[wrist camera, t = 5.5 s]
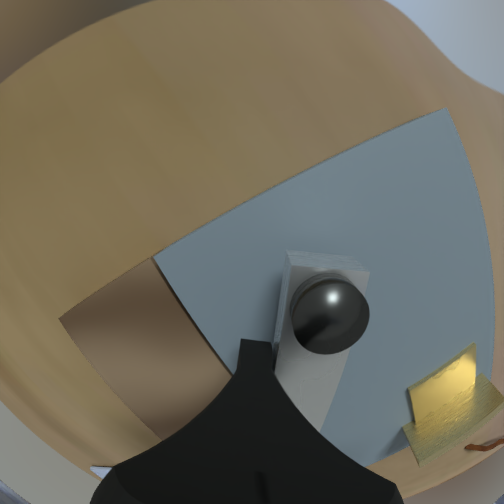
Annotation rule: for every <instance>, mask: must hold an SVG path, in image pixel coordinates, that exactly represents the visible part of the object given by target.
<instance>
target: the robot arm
mask: <svg viewBox="0 0 504 504" xmlns="http://www.w3.org/2000/svg"><path fill="white" fill-rule="evenodd" d="M272 361H273V350H272V345H271V342H266V341H258V340H250V339H242V338H241V340H240V347H239V354H238V362H237V369H236V371H235V373H234V375H233V376H232V377H231V379H230V380H229V381H228V383H227V384H226V385H225V387H224V388H223V389H222V390H221V392H220V393H219V394H218V395H217V396H216V397H215V398H214V399H213V401H212V402H211V403H210V404H209V405H208V406H207V407H206V408H205V409H204V410H203V411H201V412H200V413H199V414H198V415H197V416H196V417H195V418H193V419H192V420H191V421H190V422H189V423H188V424H186V425H185V426H184V427H182V428H181V429H180V430H178V431H177V432H175V433H174V434H173V435H171V436H170V437H168V438H166V439H165V440H163V441H162V442H160V443H159V444H157V445H156V446H154V447H152V448H150V449H149V450H147V451H145V452H143V453H141V454H139V455H137V456H134V457H132V458H130V459H128V460H126V461H124V462H122V463H119V464H117V465H115V466H113V467H112V468H111V467H96V466H91V468H90V469H91V470H92V471H93V472H94V473H95V474H97V475H98V476H99V477H101V478H102V479H103V480H102V481H101V483H100V484H99V486H98V487H97V489H96V490H95V492H94V494H93V497H92V499H91V501H90V504H404V503H403V500H402V497H401V495H400V493H399V491H398V488H397V486H396V484H395V483H393V482H391V481H389V480H387V479H385V478H383V477H381V476H379V475H378V474H376V473H374V472H372V471H370V470H368V469H367V468H365V467H363V466H362V465H360V464H358V463H357V462H355V461H354V460H353V459H351V458H350V457H348V456H347V455H345V454H344V453H343V452H341V451H340V450H339V449H338V448H337V447H335V446H334V445H333V444H332V443H331V442H330V441H328V440H327V439H326V438H325V437H324V436H323V435H322V434H320V433H319V432H318V431H317V430H316V429H315V428H314V426H313V425H312V424H311V423H310V422H309V421H308V420H307V419H306V418H305V417H304V416H303V414H302V413H301V412H300V411H299V410H298V408H297V407H296V406H295V404H294V403H293V402H292V400H291V399H290V397H289V396H288V395H287V393H286V392H285V390H284V389H283V387H282V385H281V384H280V382H279V380H278V379H277V377H276V375H275V373H274V372H273V370H272ZM0 504H30V503H29V502H27V501H26V500H25V499H23V498H22V497H20V496H19V495H18V494H17V493H15V492H14V491H13V490H12V489H10V488H9V487H8V486H7V485H6V484H4V483H3V482H2V481H1V480H0ZM493 504H504V494H503V495H502V496H501V497H500V498H499V499H498V500H497V501H496V502H495V503H493Z"/></svg>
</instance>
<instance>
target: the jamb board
mask: <svg viewBox="0 0 504 504" xmlns="http://www.w3.org/2000/svg"><path fill="white" fill-rule="evenodd" d="M162 250H164V249H162ZM162 250H161V251H162ZM161 251H159V252H161ZM159 252H158V253H159ZM158 253H156V254H158ZM156 254H154V255H153V256H151V257H149V258H148V259H146V260H145V261H143V262H141V263H140V264H138V265H137V266H135V267H133V268H132V269H130V270H129V271H127V272H126V273H124V274H122V275H121V276H119V277H118V278H116V279H115V280H113V281H112V282H110V283H109V284H107V285H106V286H104V287H103V288H101V289H100V290H98V291H97V292H95V293H94V294H92V295H91V296H89V297H88V298H86V299H85V300H83V301H82V302H80V303H79V304H77V305H76V306H74V307H73V308H72V309H70V310H69V311H68V312H66V313H65V314H64V315H62V316H61V317H60V318H58V319H59V320H60V322H61V323H62V325H63V326H64V328H65V329H66V331H67V332H68V334H69V335H70V337H71V338H72V340H73V341H74V343H75V344H76V345H77V347H78V348H79V350H80V351H81V352H82V354H83V355H84V356H85V358H86V359H87V360H88V362H89V363H90V364H91V365H92V367H93V368H94V369H95V370H96V372H97V373H98V374H99V375H100V377H101V378H102V379H103V380H104V381H105V382H106V384H107V385H108V386H109V387H110V388H111V389H112V391H113V392H114V393H115V394H116V395H117V396H118V397H119V398H120V399H121V400H122V402H123V403H124V404H125V405H126V406H127V407H128V408H129V409H130V410H131V411H132V412H133V413H134V414H135V415H136V416H137V417H138V418H139V419H140V420H141V421H142V422H143V423H144V424H145V425H146V426H147V427H148V428H150V429H151V430H152V431H153V432H154V433H155V434H156V435H157V436H158V437H159V438H161V439H162V440H165V439H166V438H168V437H170V436H171V435H173V434H174V433H175V432H177V431H178V430H180V429H181V428H182V427H184V426H185V425H186V424H188V423H189V422H190V421H191V420H192V419H193V418H195V417H196V416H197V415H198V414H199V413H200V412H201V411H203V410H204V409H205V408H206V407H207V406H208V405H209V404H210V403H211V402H212V401H213V399H214V398H215V397H216V396H217V395H218V394H219V393H220V392H221V390H222V389H223V388H224V387H225V385H226V384H227V383H228V381H229V380H230V379H231V377H232V376H233V374H232V372H231V371H230V370H229V368H228V367H227V366H226V364H225V363H224V362H223V360H222V359H221V358H220V356H219V355H218V354H217V352H216V351H215V350H214V348H213V347H212V346H211V344H210V343H209V341H208V340H207V339H206V337H205V336H204V334H203V333H202V332H201V330H200V329H199V327H198V326H197V324H196V323H195V321H194V320H193V319H192V317H191V316H190V314H189V313H188V311H187V310H186V308H185V307H184V305H183V304H182V302H181V301H180V299H179V298H178V296H177V294H176V293H175V291H174V290H173V288H172V287H171V285H170V283H169V282H168V280H167V279H166V277H165V275H164V274H163V272H162V271H161V269H160V267H159V266H158V264H157V262H156V261H155V259H154V256H155V255H156Z"/></svg>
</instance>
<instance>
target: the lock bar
mask: <svg viewBox="0 0 504 504" xmlns="http://www.w3.org/2000/svg"><path fill="white" fill-rule="evenodd" d="M369 274H370V272H369V271H368V270H367V269H366V268H365V267H364V266H362V265H361V264H360V263H359V262H358V261H357V260H355V259H354V258H353V257H352V256H343V255H333V254H323V253H313V252H303V251H293V250H286V254H285V262H284V270H283V277H282V285H281V292H280V299H279V307H278V314H277V320H276V327H275V334H274V340H273V347H272V350H273V361H272V370H273V372H274V373H275V375H276V377H277V379H278V380H279V382H280V384H281V385H282V387H283V389H284V390H285V392H286V393H287V395H288V396H289V397H290V399H291V400H292V402H293V403H294V404H295V406H296V407H297V408H298V410H299V411H300V412H301V413H302V414H303V416H304V417H305V418H306V419H307V420H308V421H309V422H310V423H311V424H312V425H313V426H314V428H315V429H316V430H317V431H318V432H320V430H321V427H322V425H323V423H324V420H325V418H326V415H327V413H328V410H329V408H330V405H331V403H332V400H333V398H334V395H335V392H336V390H337V387H338V384H339V381H340V378H341V376H342V373H343V370H344V367H345V364H346V361H347V357H348V354H349V351H350V348H351V346H352V345H354V344H355V343H356V342H357V341H358V340H359V339H360V338H361V337H362V335H363V334H364V332H365V330H366V328H367V326H368V323H369V317H370V310H369V305H368V303H367V300H366V299H365V297H364V296H365V292H366V288H367V283H368V279H369Z"/></svg>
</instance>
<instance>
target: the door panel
mask: <svg viewBox="0 0 504 504" xmlns="http://www.w3.org/2000/svg"><path fill="white" fill-rule="evenodd" d="M286 250H293V251H303V252H313V253H323V254H333V255H343V256H352V257H353V258H354V259H355V260H357V261H358V262H359V263H360V264H361V265H362V266H364V267H365V268H366V269H367V270H368V271H369V272H370V274H369V279H368V283H367V288H366V292H365V296H364V297H365V299H366V300H367V303H368V305H369V310H370V317H369V323H368V326H367V328H366V330H365V332H364V334H363V335H362V337H361V338H360V339H359V340H358V341H357V342H356V343H355V344H354V345H352V346H351V348H350V351H349V354H348V357H347V361H346V364H345V367H344V370H343V373H342V376H341V378H340V381H339V384H338V387H337V390H336V392H335V395H334V398H333V400H332V403H331V405H330V408H329V410H328V413H327V415H326V418H325V420H324V423H323V425H322V427H321V430H320V432H319V433H320V434H322V435H323V436H324V437H325V438H326V439H327V440H328V441H330V442H331V443H332V444H333V445H334V446H335V447H337V448H338V449H339V450H340V451H341V452H343V453H344V454H345V455H347V456H348V457H350V458H351V459H353V460H354V461H355V462H357V463H358V464H360V465H362V466H363V467H366V466H368V465H370V464H373V463H375V462H377V461H380V460H382V459H384V458H386V457H388V456H390V455H392V454H394V453H396V452H398V451H400V450H402V449H404V448H406V447H408V446H410V445H409V443H408V441H407V439H406V437H405V435H404V432H403V428H402V426H404V425H406V424H407V423H409V422H411V421H413V420H414V417H413V412H412V407H411V402H410V397H409V393H408V387H409V386H411V385H413V384H414V383H416V382H417V381H419V380H421V379H422V378H424V377H425V376H427V375H428V374H430V373H432V372H433V371H435V370H436V369H437V368H439V367H440V366H442V365H443V364H445V363H446V362H447V361H449V360H450V359H452V358H453V357H454V356H456V355H457V354H458V353H460V352H461V351H462V350H464V349H465V348H466V347H467V346H469V345H470V344H471V343H472V342H474V343H475V344H476V373H475V378H476V377H477V376H478V375H479V374H480V373H483V374H484V375H485V376H486V378H487V379H488V380H489V381H490V379H491V372H492V363H493V351H494V333H495V302H494V283H493V271H492V262H491V254H490V247H489V241H488V235H487V229H486V224H485V219H484V215H483V210H482V206H481V202H480V198H479V194H478V190H477V187H476V183H475V180H474V177H473V173H472V170H471V167H470V164H469V161H468V158H467V155H466V153H465V150H464V147H463V145H462V142H461V140H460V137H459V135H458V132H457V130H456V127H455V125H454V123H453V121H452V118H451V116H450V114H449V112H448V110H447V108H443V109H440V110H438V111H435V112H432V113H429V114H426V115H423V116H421V117H419V118H416V119H414V120H411V121H409V122H407V123H404V124H402V125H400V126H397V127H395V128H393V129H391V130H388V131H386V132H384V133H382V134H379V135H377V136H375V137H373V138H371V139H368V140H366V141H364V142H362V143H360V144H358V145H356V146H353V147H351V148H349V149H347V150H345V151H343V152H341V153H339V154H337V155H335V156H333V157H331V158H328V159H326V160H324V161H322V162H320V163H318V164H316V165H314V166H312V167H310V168H308V169H306V170H304V171H302V172H300V173H298V174H297V175H295V176H293V177H291V178H289V179H287V180H285V181H283V182H281V183H279V184H277V185H275V186H273V187H272V188H270V189H268V190H266V191H264V192H262V193H260V194H258V195H257V196H255V197H253V198H251V199H249V200H247V201H246V202H244V203H242V204H240V205H238V206H237V207H235V208H233V209H231V210H229V211H228V212H226V213H224V214H222V215H220V216H219V217H217V218H215V219H213V220H212V221H210V222H208V223H206V224H205V225H203V226H201V227H199V228H198V229H196V230H194V231H193V232H191V233H189V234H188V235H186V236H184V237H182V238H181V239H179V240H177V241H176V242H174V243H172V244H171V245H169V246H168V247H166V248H165V249H164V250H162V251H161V252H159V253H158V254H156V255H155V256H154V259H155V261H156V262H157V264H158V266H159V267H160V269H161V271H162V272H163V274H164V275H165V277H166V279H167V280H168V282H169V283H170V285H171V287H172V288H173V290H174V291H175V293H176V294H177V296H178V298H179V299H180V301H181V302H182V304H183V305H184V307H185V308H186V310H187V311H188V313H189V314H190V316H191V317H192V319H193V320H194V321H195V323H196V324H197V326H198V327H199V329H200V330H201V332H202V333H203V334H204V336H205V337H206V339H207V340H208V341H209V343H210V344H211V346H212V347H213V348H214V350H215V351H216V352H217V354H218V355H219V356H220V358H221V359H222V360H223V362H224V363H225V364H226V366H227V367H228V368H229V370H230V371H231V372H232V374H233V375H234V373H235V371H236V369H237V362H238V354H239V347H240V340H241V338H242V339H250V340H258V341H266V342H271V345H272V347H273V340H274V334H275V327H276V320H277V314H278V307H279V299H280V292H281V285H282V277H283V270H284V262H285V254H286Z"/></svg>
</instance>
